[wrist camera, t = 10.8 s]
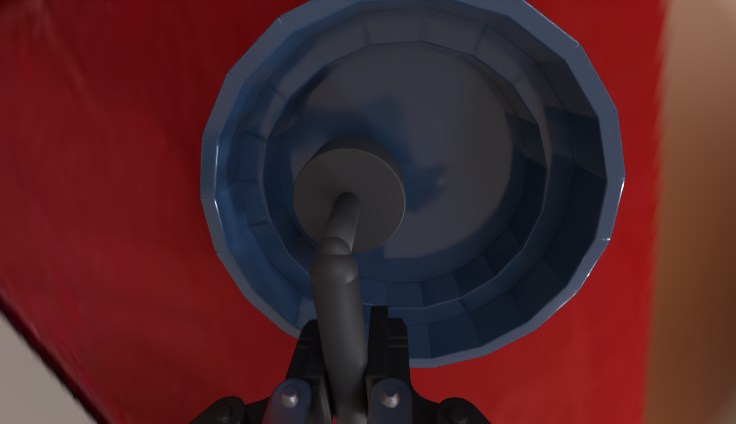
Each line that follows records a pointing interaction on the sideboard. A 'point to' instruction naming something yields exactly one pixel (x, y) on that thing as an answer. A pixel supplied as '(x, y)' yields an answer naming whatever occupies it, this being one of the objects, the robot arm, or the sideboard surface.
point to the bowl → (421, 164)
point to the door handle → (346, 252)
